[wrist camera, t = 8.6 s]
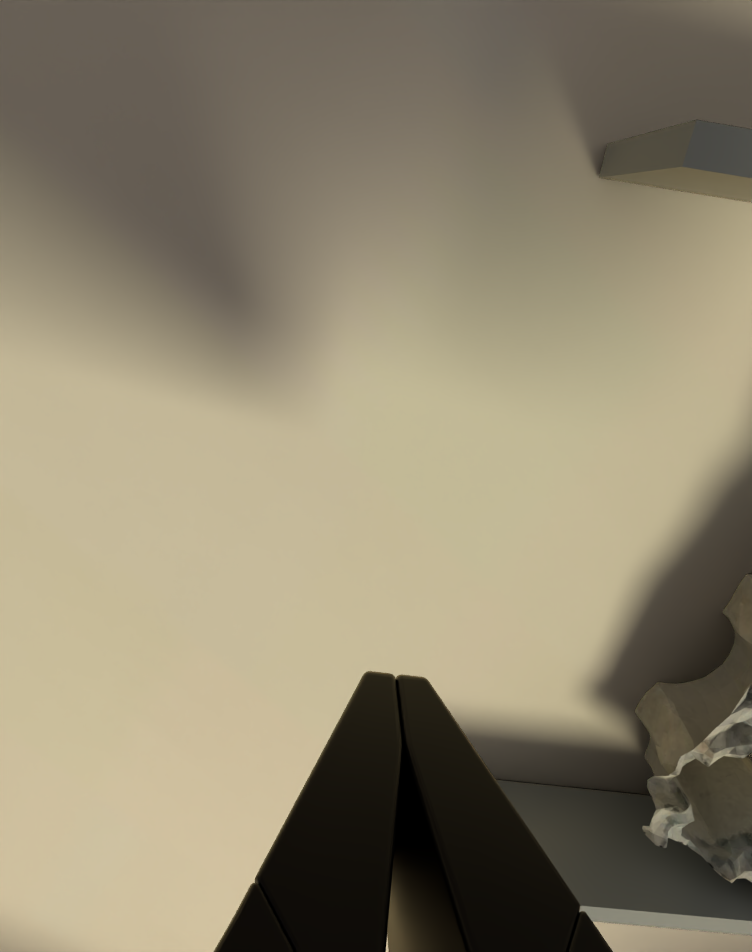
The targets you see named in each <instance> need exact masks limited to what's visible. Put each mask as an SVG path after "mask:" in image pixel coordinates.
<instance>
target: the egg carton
mask: <svg viewBox="0 0 752 952" xmlns="http://www.w3.org/2000/svg"><path fill="white" fill-rule="evenodd" d="M723 613H724V614H725V615H726V616H727V618H728V619H729V620H730V622H731V624H732V627H733V629H734V631H735V639H734V644H733V647H732V649H731V652H730V654H729V656H728V657H727V658H726V660H725V661H724V662H723V664H722V665H721V666H720V667H718V668H717V669H715V670H714V671H713V672H711V673H710V674H708V675H707V676H706V677H704V678H700V679H697V680H694V681H690V682H685V683H678V684H673V683H663V682H657V683H656V684H655V685H654V686H653V687H652V688H651V689H650V690H649V691H647V692H646V693H645V695H644V696H643V697H642V699H641V700H640V702H639V703H638V705H637V707H636V709H635V713H636V715H637V716H638V718H639V719H640V720H641V722H642V723H643V725H644V726H645V727H646V729H647V730H648V732H649V734H650V741H649V744H648V747H647V750H646V752H645V756H644V758H645V759H646V761H647V762H648V763H649V765H650V766H651V768H652V771H653V773H654V775H655V776H652V777H651V778H649V779H648V780H647V789H648V791H649V793H650V795H651V797H652V799H653V802H654V804H655V808H656V811H655V813H654V816H653V818H652V820H651V823H650V826H643V827H642V830H643V832H644V834H645V835H646V836H647V837H648V838H649V839H650V840H651V841H652V842H653V843H654V844H655V845H657V846H659V847H662V848H667V842H668V838H670V839H673V840H675V841H677V842H680V843H682V844H684V845H686V846H688V847H689V848H691V849H692V850H693V851H695V852H696V853H698V854H699V855H701V856H702V857H703V858H704V859H705V860H706V861H707V863H708V864H709V865H710V866H711V867H712V868H713V869H714V870H715V871H716V872H717V873H718V874H719V875H720V876H722V877H723V878H725V879H726V880H728V881H729V882H731V883H732V882H734V881H735V880H736V879H740V878H746V879H747V880H749V881H751V882H752V760H751V759H750V758H748V757H747V756H748V755H749V754H750V753H751V752H752V574H747V575H746V576H745V577H744V578H743V579H742V581H741V582H740V584H739V586H738V587H737V589H736V591H735V593H734V595H733V596H732V598H731V600H730V602H729V603H728V604H727V606H726V607H725V608H724V610H723Z"/></svg>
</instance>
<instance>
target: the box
mask: <svg viewBox="0 0 752 952" xmlns="http://www.w3.org/2000/svg"><path fill="white" fill-rule="evenodd" d="M599 178H604V179H610V180H616V181H623V182H629V183H635V184H641V185H647V186H653V187H659V188H665V189H672V190H678V191H684V192H690V193H696V194H702V195H708V196H714V197H720V198H727V199H733V200H739V201H745V202H751V203H752V129H748V128H742V127H736V126H730V125H725V124H719V123H713V122H707V121H701V120H694V121H690V122H686V123H683V124H679V125H675V126H672V127H668V128H664V129H660V130H657V131H653V132H649V133H646V134H642V135H638V136H635V137H631V138H627V139H624V140H620V141H616V142H612V143H609V144H607V148H606V152H605V156H604V159H603V163H602V167H601V171H600V175H599ZM496 781H497V782H498V784H499V785H500V787H501V788H502V790H503V791H504V793H505V794H506V796H507V797H508V799H509V800H510V802H511V803H512V805H513V806H514V808H515V809H516V810H517V812H518V813H519V815H520V816H521V818H522V819H523V821H524V822H525V824H526V825H527V827H528V828H529V830H530V831H531V833H532V834H533V835H534V837H535V838H536V840H537V841H538V843H539V844H540V846H541V847H542V849H543V850H544V852H545V853H546V855H547V856H548V858H549V859H550V861H551V862H552V863H553V865H554V866H555V868H556V869H557V871H558V872H559V874H560V875H561V877H562V878H563V880H564V881H565V883H566V884H567V886H568V887H569V889H570V890H571V891H572V893H573V894H574V896H575V897H576V899H577V900H578V902H579V903H580V911H585V912H586V913H587V915H588V916H589V918H590V919H591V920H592V921H593V922H604V923H615V924H626V925H638V926H649V927H660V928H671V929H683V930H694V931H705V932H716V933H727V934H739V935H750V936H752V882H751V881H749V880H747V879H746V878H740V879H736V880H735V881H734V882H732V883H731V882H729V881H728V880H726V879H725V878H723V877H722V876H720V875H719V874H718V873H717V872H716V871H715V870H714V869H713V868H712V867H711V866H710V865H709V864H708V863H707V861H706V860H705V859H704V858H703V857H702V856H701V855H699V854H698V853H696V852H695V851H693V850H692V849H691V848H689V847H688V846H686V845H684V844H682V843H680V842H677V841H675V840H673V839H670V838H668V842H667V848H662V847H659V846H657V845H655V844H654V843H653V842H652V841H651V840H650V839H649V838H648V837H647V836H646V835H645V834H644V832H643V830H642V827H643V826H650V823H651V820H652V818H653V816H654V813H655V811H656V808H655V804H654V802H653V799H652V797H651V796H649V795H639V794H629V793H619V792H609V791H600V790H590V789H580V788H570V787H561V786H551V785H541V784H531V783H521V782H512V781H502V780H496ZM580 911H579V912H580Z"/></svg>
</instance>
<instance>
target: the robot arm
mask: <svg viewBox="0 0 752 952" xmlns="http://www.w3.org/2000/svg"><path fill="white" fill-rule="evenodd" d="M579 911H580V903H579V902H578V900H577V899H576V897H575V896H574V894H573V893H572V891H571V890H570V889H569V887H568V886H567V884H566V883H565V881H564V880H563V878H562V877H561V875H560V874H559V872H558V871H557V869H556V868H555V866H554V865H553V863H552V862H551V861H550V859H549V858H548V856H547V855H546V853H545V852H544V850H543V849H542V847H541V846H540V844H539V843H538V841H537V840H536V838H535V837H534V835H533V834H532V833H531V831H530V830H529V828H528V827H527V825H526V824H525V822H524V821H523V819H522V818H521V816H520V815H519V813H518V812H517V810H516V809H515V808H514V806H513V805H512V803H511V802H510V800H509V799H508V797H507V796H506V794H505V793H504V791H503V790H502V788H501V787H500V785H499V784H498V782H497V781H496V780H495V778H494V777H493V775H492V774H491V772H490V771H489V769H488V768H487V766H486V765H485V763H484V762H483V760H482V759H481V757H480V756H479V755H478V753H477V752H476V750H475V749H474V747H473V746H472V744H471V743H470V741H469V740H468V738H467V737H466V735H465V734H464V732H463V731H462V729H461V728H460V727H459V725H458V724H457V722H456V721H455V719H454V718H453V716H452V715H451V713H450V712H449V710H448V709H447V707H446V706H445V704H444V703H443V701H442V700H441V699H440V697H439V696H438V694H437V693H436V691H435V690H434V688H433V687H432V685H431V684H430V682H429V681H428V680H427V679H426V678H424V677H418V676H409V675H399V676H397V677H396V679H395V677H394V675H393V674H390V673H381V672H372V671H368V672H366V673H365V674H364V675H363V676H362V678H361V680H360V682H359V684H358V686H357V688H356V690H355V691H354V693H353V695H352V697H351V699H350V701H349V703H348V705H347V706H346V708H345V710H344V712H343V714H342V716H341V718H340V720H339V722H338V723H337V725H336V727H335V729H334V731H333V733H332V735H331V737H330V738H329V740H328V742H327V744H326V746H325V748H324V750H323V752H322V753H321V755H320V757H319V759H318V761H317V763H316V765H315V767H314V768H313V770H312V772H311V774H310V776H309V778H308V780H307V782H306V783H305V785H304V787H303V789H302V791H301V793H300V795H299V797H298V798H297V800H296V802H295V804H294V806H293V808H292V810H291V812H290V813H289V815H288V817H287V819H286V821H285V823H284V825H283V827H282V828H281V830H280V832H279V834H278V836H277V838H276V840H275V842H274V843H273V845H272V847H271V849H270V851H269V853H268V855H267V857H266V858H265V860H264V862H263V864H262V866H261V868H260V870H259V872H258V873H257V875H256V877H255V883H253V884H251V886H250V888H249V889H248V891H247V893H246V895H245V897H244V899H243V901H242V902H241V904H240V906H239V908H238V910H237V912H236V914H235V916H234V917H233V919H232V921H231V923H230V924H229V926H228V928H227V930H226V931H225V933H224V935H223V937H222V938H221V940H220V942H219V943H218V945H217V947H216V949H215V950H214V952H385V951H386V940H387V936H388V948H389V952H613V951H612V950H611V948H610V947H609V946H608V944H607V943H606V941H605V940H604V938H603V937H602V935H601V934H600V932H599V931H598V929H597V928H596V926H595V925H594V923H593V922H592V920H591V919H590V918H589V916H588V915H587V913H586V912H585V911H580V912H579Z"/></svg>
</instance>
